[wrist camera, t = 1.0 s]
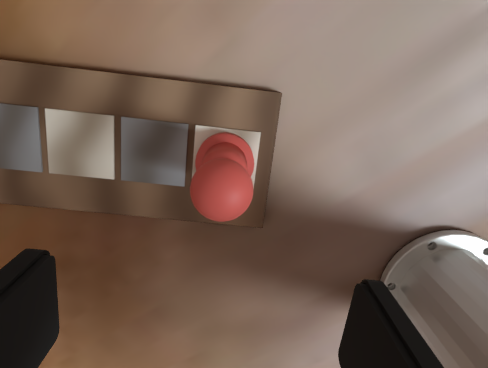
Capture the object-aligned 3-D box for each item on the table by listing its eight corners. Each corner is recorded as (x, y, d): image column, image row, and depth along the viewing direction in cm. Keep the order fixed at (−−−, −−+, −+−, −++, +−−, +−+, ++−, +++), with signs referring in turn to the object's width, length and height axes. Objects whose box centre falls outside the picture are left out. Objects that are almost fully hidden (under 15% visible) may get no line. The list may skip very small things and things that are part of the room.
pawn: (256, 135, 28) (267, 165, 19) (249, 189, 29) (256, 242, 20) (199, 129, 28) (181, 156, 19) (194, 184, 29) (176, 234, 20)
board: (280, 92, 28) (282, 93, 27) (261, 222, 32) (262, 228, 31) (-44, 53, 27) (-58, 52, 25) (-24, 195, 30) (-36, 200, 29)
